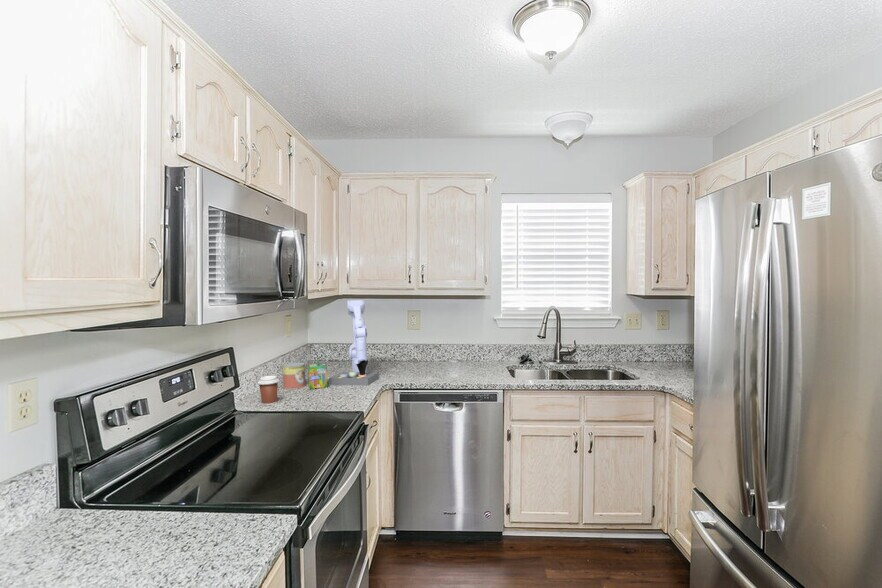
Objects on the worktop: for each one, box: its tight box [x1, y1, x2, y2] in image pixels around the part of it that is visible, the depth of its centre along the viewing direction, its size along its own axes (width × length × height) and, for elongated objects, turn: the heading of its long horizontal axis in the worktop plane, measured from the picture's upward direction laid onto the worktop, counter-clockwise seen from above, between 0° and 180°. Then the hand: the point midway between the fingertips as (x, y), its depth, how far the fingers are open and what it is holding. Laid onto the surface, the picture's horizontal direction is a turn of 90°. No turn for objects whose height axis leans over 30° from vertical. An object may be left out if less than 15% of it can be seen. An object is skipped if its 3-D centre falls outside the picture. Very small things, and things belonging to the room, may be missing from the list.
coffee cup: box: [257, 375, 280, 406], centre depth 201 cm, size 9×9×12 cm
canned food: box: [281, 361, 307, 390], centre depth 232 cm, size 11×11×12 cm
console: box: [328, 371, 380, 386], centre depth 240 cm, size 16×22×4 cm
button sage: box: [348, 371, 357, 377], centre depth 238 cm, size 4×4×3 cm
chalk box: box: [307, 358, 329, 390], centre depth 230 cm, size 9×9×15 cm
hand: (362, 374), depth 236 cm, fingers closed, pressing on button terracotta
